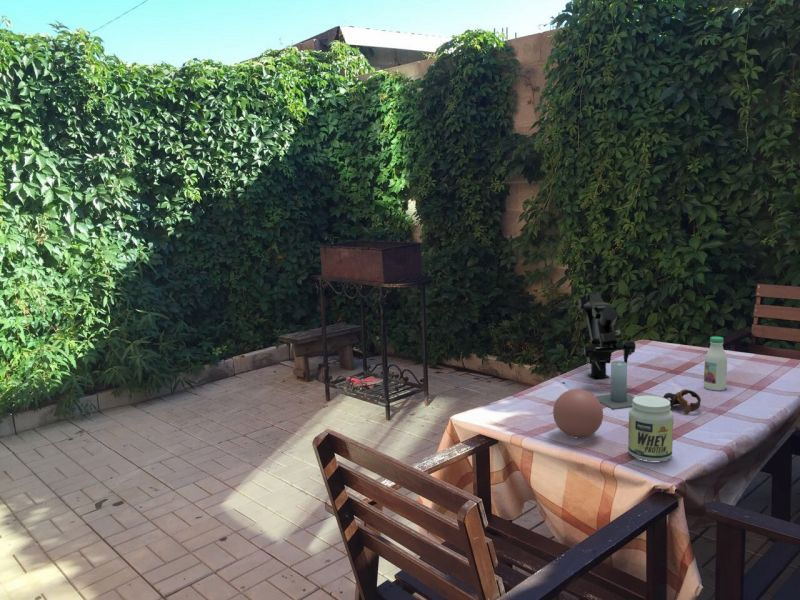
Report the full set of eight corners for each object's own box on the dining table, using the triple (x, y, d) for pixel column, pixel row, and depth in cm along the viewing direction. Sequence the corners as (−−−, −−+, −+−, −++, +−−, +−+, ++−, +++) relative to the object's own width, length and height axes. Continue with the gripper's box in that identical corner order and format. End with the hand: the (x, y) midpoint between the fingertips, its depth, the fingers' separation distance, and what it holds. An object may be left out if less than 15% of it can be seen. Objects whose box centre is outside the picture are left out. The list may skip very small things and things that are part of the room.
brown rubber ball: (615, 428, 211) (615, 383, 208) (591, 449, 195) (592, 401, 193) (570, 420, 220) (570, 377, 218) (545, 439, 205) (544, 393, 202)
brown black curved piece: (692, 405, 230) (701, 390, 225) (695, 425, 223) (705, 409, 218) (658, 397, 232) (666, 381, 227) (660, 416, 225) (669, 400, 219)
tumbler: (612, 396, 241) (612, 360, 238) (627, 398, 238) (628, 362, 236) (609, 401, 236) (609, 364, 233) (625, 403, 233) (625, 365, 231)
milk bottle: (721, 384, 250) (723, 335, 247) (729, 391, 243) (731, 339, 239) (700, 385, 251) (702, 335, 248) (708, 391, 244) (710, 340, 240)
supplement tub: (631, 463, 185) (632, 407, 182) (625, 446, 196) (626, 393, 194) (676, 465, 182) (678, 408, 179) (667, 448, 194) (669, 394, 191)
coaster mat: (591, 397, 242) (591, 396, 242) (624, 393, 245) (624, 392, 245) (612, 409, 228) (612, 408, 228) (646, 404, 232) (646, 403, 232)
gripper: (582, 325, 247) (588, 362, 239) (632, 320, 243) (640, 357, 235) (581, 338, 256) (587, 374, 248) (630, 333, 253) (638, 370, 244)
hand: (613, 369), depth 244 cm, fingers open, 9 cm apart
